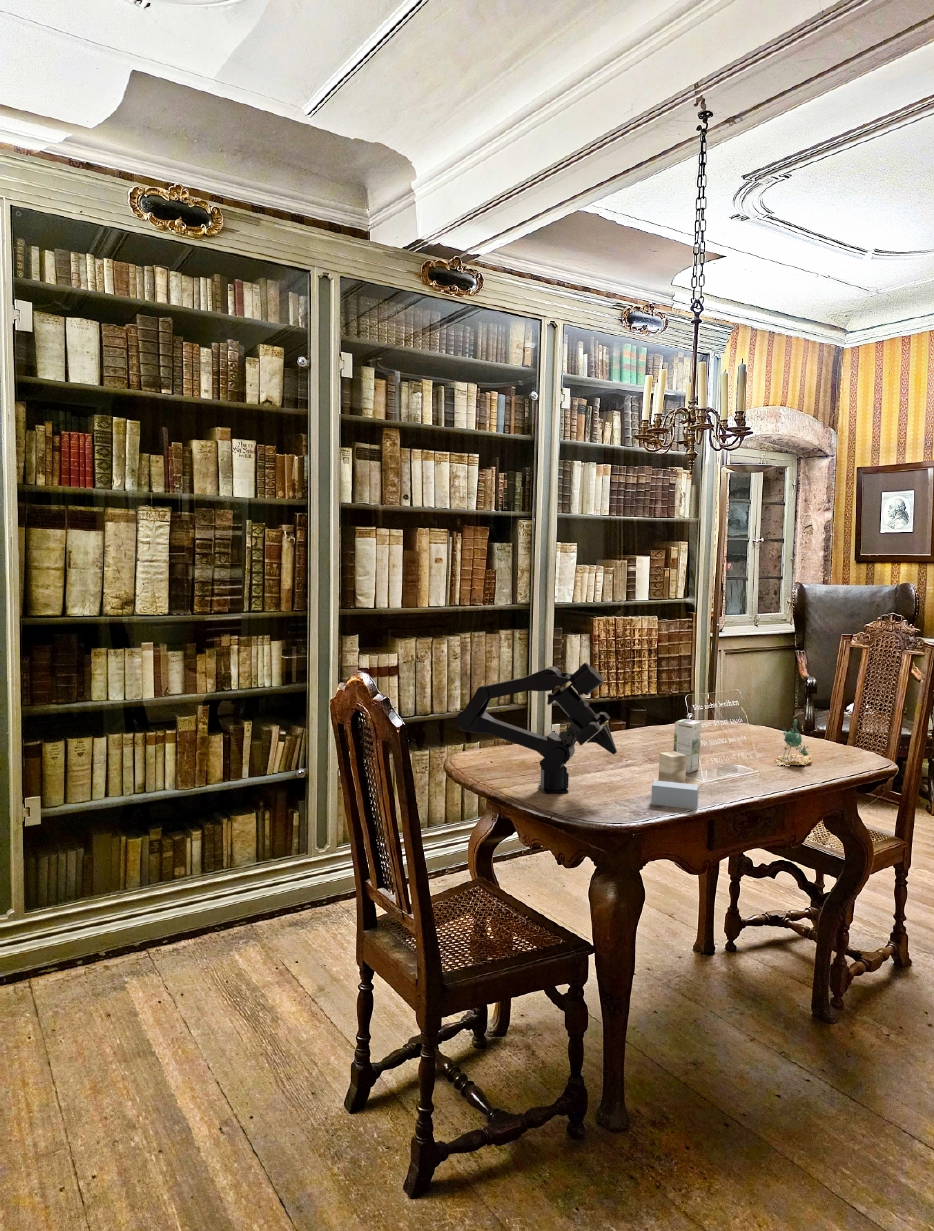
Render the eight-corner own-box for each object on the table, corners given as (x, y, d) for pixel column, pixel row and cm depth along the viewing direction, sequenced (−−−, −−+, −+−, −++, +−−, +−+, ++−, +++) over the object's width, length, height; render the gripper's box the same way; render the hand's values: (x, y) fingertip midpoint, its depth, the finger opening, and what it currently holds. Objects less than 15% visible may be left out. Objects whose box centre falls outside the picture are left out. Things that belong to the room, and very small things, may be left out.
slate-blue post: (651, 785, 203) (697, 790, 199) (654, 780, 207) (698, 784, 204) (651, 804, 203) (696, 810, 199) (653, 799, 208) (698, 804, 204)
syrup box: (680, 766, 241) (682, 718, 240) (699, 770, 237) (701, 721, 236) (672, 770, 237) (674, 721, 236) (691, 773, 233) (693, 723, 232)
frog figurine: (828, 764, 248) (827, 717, 246) (786, 776, 240) (784, 728, 238) (803, 757, 257) (802, 711, 255) (761, 768, 249) (759, 721, 247)
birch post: (670, 790, 216) (671, 757, 215) (658, 785, 220) (659, 752, 219) (685, 788, 218) (686, 755, 217) (672, 783, 222) (673, 751, 222)
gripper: (560, 719, 221) (598, 764, 219) (543, 733, 204) (585, 781, 201) (590, 693, 218) (629, 738, 216) (576, 705, 201) (619, 753, 198)
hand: (615, 753), depth 208 cm, fingers closed
